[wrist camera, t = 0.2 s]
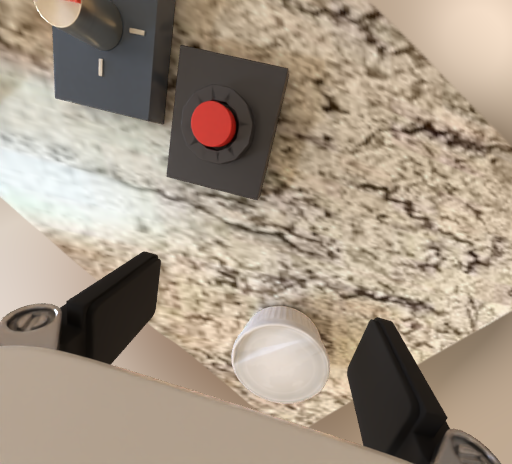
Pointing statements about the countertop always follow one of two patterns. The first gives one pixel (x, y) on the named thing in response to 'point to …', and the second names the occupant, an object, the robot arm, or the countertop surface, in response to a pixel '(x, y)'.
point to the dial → (84, 20)
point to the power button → (213, 124)
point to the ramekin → (281, 356)
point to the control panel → (120, 63)
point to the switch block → (244, 111)
